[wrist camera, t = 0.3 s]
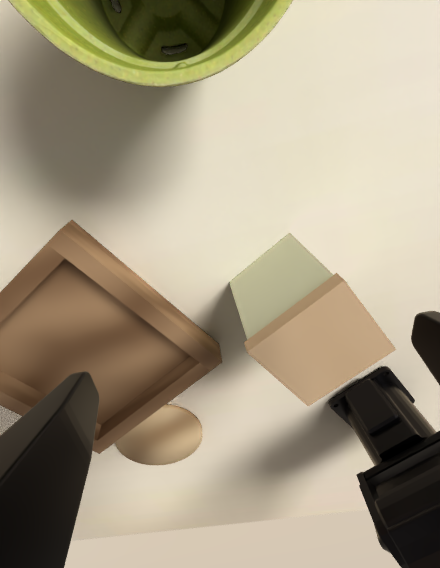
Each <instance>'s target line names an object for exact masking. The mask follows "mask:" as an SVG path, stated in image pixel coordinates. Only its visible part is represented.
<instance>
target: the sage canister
mask: <svg viewBox="0 0 440 568" xmlns="http://www.w3.org/2000/svg"><path fill="white" fill-rule="evenodd" d="M229 283H230V286H231V289H232V293H233V296H234V299H235V302H236V305H237V309H238V312H239V315H240V318H241V321H242V325H243V328H244V331H245V334H246V338H247V341H245V342H244V344H245V347H246V351H247V353H248V354H249V355H250V356H252V357H253V358H254V359H255V360H256V361H257V362H258V363H260V364H261V365H262V366H263V367H264V368H265V369H266V370H267V371H269V372H270V373H271V374H272V375H273V376H274V377H275V378H277V379H278V380H279V381H280V382H281V383H282V384H283V385H284V386H286V387H287V388H288V389H289V390H290V391H291V392H292V393H294V394H295V395H296V396H297V397H298V398H299V399H300V400H301V401H303V402H304V403H305V404H306V405H307V406H309V405H311V404H313V403H314V402H316V401H317V400H319V399H320V398H322V397H323V396H325V395H326V394H328V393H330V392H331V391H333V390H334V389H336V388H337V387H339V386H340V385H342V384H343V383H345V382H347V381H348V380H350V379H351V378H353V377H354V376H356V375H357V374H359V373H360V372H362V371H364V370H365V369H367V368H368V367H370V366H371V365H373V364H374V363H376V362H377V361H379V360H381V359H382V358H384V357H385V356H387V355H388V354H390V353H391V352H393V351H394V350H396V349H395V347H394V346H393V345H392V343H391V342H390V341H389V339H388V338H387V337H386V335H385V334H384V333H383V331H382V330H381V329H380V327H379V326H378V325H377V323H376V322H375V321H374V319H373V318H372V316H371V315H370V314H369V312H368V311H367V310H366V308H365V307H364V306H363V304H362V303H361V302H360V300H359V299H358V298H357V296H356V295H355V294H354V292H353V291H352V290H351V288H350V287H349V286H348V284H347V283H346V282H345V280H344V279H343V278H341V277H340V276H339V275H338V274H337V273H336V274H335V275H333V274H332V273H331V272H330V271H329V270H328V269H327V268H326V267H325V266H324V265H323V264H322V263H321V262H320V261H319V260H317V259H316V258H315V257H314V256H313V255H312V254H311V253H310V252H309V251H308V250H307V249H306V248H305V247H304V246H303V245H302V244H301V243H300V242H299V241H298V240H297V239H296V238H295V237H294V236H293V235H292V234H291V233H289V234H287V235H286V236H285V237H284V238H283V239H281V240H280V241H279V242H278V243H277V244H275V245H274V246H273V247H272V248H270V249H269V250H268V251H267V252H266V253H264V254H263V255H262V256H261V257H259V258H258V259H257V260H256V261H255V262H253V263H252V264H251V265H250V266H248V267H247V268H246V269H245V270H244V271H242V272H241V273H240V274H239V275H237V276H236V277H235V278H234V279H233V280H231V281H230V282H229Z"/></svg>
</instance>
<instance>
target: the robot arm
mask: <svg viewBox="0 0 440 568" xmlns="http://www.w3.org/2000/svg"><path fill="white" fill-rule="evenodd" d="M411 340H412V344H413V346H414V348H415V349H416V351H417V352H418V354H419V355H420V357H421V358H422V360H423V361H424V363H425V364H426V366H427V367H428V369H429V370H430V372H431V373H432V374H433V376H434V377H435V379H436V380H437V382H438V383H439V385H440V313H439V312H436V311H428V312H422V313H419V314H417V315H416V316H415V320H414V325H413V330H412V336H411ZM414 402H415V400H414V398H413V397H412V396H411V395H410V393H409V392H408V391H407V390H406V388H405V387H404V386H403V385H402V383H401V382H400V381H399V380H398V378H397V377H396V376H395V375H394V373H393V372H392V371H391V370H390V369H389V367H386V366H385V367H382V368H380V369H379V370H377V371H376V372H374V373H373V374H371V375H369V376H368V377H366V378H365V379H363V380H362V381H360V382H358V383H357V384H355V385H354V386H352V387H351V388H349V389H347V390H346V391H344V392H343V393H341V394H340V395H338V396H337V397H335V398H333V399H332V400H331V401H330V402H329V405H330V406H331V408H332V409H333V410H334V411H335V412H336V413H337V414H338V415H339V416H340V417H341V418H342V419H344V420H345V421H346V422H347V423H348V424H349V425H350V426H351V427H352V428H353V429H354V430H355V432H356V434H357V436H358V437H359V439H360V441H361V443H362V444H363V446H364V448H365V450H366V451H367V453H368V455H369V457H370V458H371V460H372V462H373V464H374V465H375V466H374V467H372V468H370V469H369V470H367V471H365V472H360V473H359V474H357V477H358V480H359V483H360V485H359V486H360V489H361V491H362V494H363V496H364V499H365V502H366V504H367V507H368V509H369V512H370V514H371V516H372V519H373V522H374V525H375V529H376V533H377V537H378V540H379V543H380V545H381V546H382V548H383V549H384V550H386V551H388V552H390V553H391V554H392V555H393V557H394V558H395V559H396V561H397V562H398V563H399V565H400V566H401V567H402V568H440V431H438V432H436V431H435V430H434V429H433V427H432V426H431V425H430V424H429V423H428V421H427V420H426V419H425V418H424V417H423V415H422V414H421V413H420V412H419V411H418V409H417V408H416V407H415V406H414V405H413V403H414ZM98 407H99V393H98V391H97V388H96V386H95V384H94V382H93V379H92V377H91V375H90V373H89V372H87V371H83V372H77V373H73V374H71V375H69V376H68V377H67V378H66V379H65V380H63V381H62V382H61V383H60V384H59V385H58V386H57V387H55V388H54V389H53V390H52V391H51V392H50V393H49V394H48V395H46V396H45V397H44V398H43V399H42V400H41V401H40V402H38V403H37V404H36V405H35V406H34V407H33V408H32V409H30V410H29V411H28V412H27V413H26V414H25V415H24V416H22V417H21V418H20V419H19V420H18V421H17V422H16V423H14V424H13V425H12V426H11V427H10V428H9V429H8V430H6V431H5V432H4V433H3V434H2V435H1V436H0V568H64V565H65V561H66V557H67V553H68V549H69V545H70V541H71V537H72V533H73V529H74V525H75V521H76V517H77V513H78V509H79V505H80V501H81V497H82V493H83V489H84V485H85V481H86V478H87V474H88V470H89V465H90V461H91V456H92V450H93V443H94V436H95V429H96V421H97V414H98Z"/></svg>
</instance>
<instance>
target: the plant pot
mask: <svg viewBox="0 0 440 568" xmlns="http://www.w3.org/2000/svg"><path fill="white" fill-rule="evenodd" d="M8 1H9V2H10V3H11V4H12V5H13V7H14V8H15V9H16V10H17V11H18V12H19V13H20V14H21V15H22V16H23V17H24V18H25V19H26V20H27V21H28V22H29V23H30V24H31V25H32V26H33V27H34V28H35V29H36V30H37V31H38V32H39V33H40V34H42V35H43V36H44V37H45V38H46V39H47V40H49V41H50V42H51V43H52V44H53V45H55V46H56V47H57V48H58V49H60V50H61V51H63V52H64V53H65V54H67V55H68V56H70V57H71V58H73V59H75V60H76V61H78V62H79V63H81V64H83V65H85V66H87V67H88V68H90V69H92V70H94V71H96V72H98V73H101V74H103V75H106V76H108V77H111V78H113V79H117V80H120V81H123V82H127V83H131V84H136V85H143V86H153V87H166V86H178V85H184V84H189V83H193V82H196V81H200V80H203V79H205V78H208V77H211V76H213V75H215V74H217V73H219V72H221V71H223V70H225V69H226V68H228V67H230V66H231V65H233V64H234V63H236V62H238V61H239V60H240V59H242V58H243V57H244V56H245V55H247V54H248V53H249V52H250V51H252V50H253V49H254V48H255V47H256V46H257V45H258V44H259V43H260V42H261V41H262V40H263V39H264V38H265V37H266V36H267V35H268V34H269V33H270V32H271V30H272V29H273V28H274V27H275V26H276V24H277V23H278V22H279V20H280V19H281V18H282V16H283V15H284V13H285V12H286V10H287V9H288V7H289V6H290V4H291V3H292V1H293V0H119V3H120V5H121V12H120V13H117V12H116V11H115V9H114V8H113V6H112V4H111V1H110V0H8ZM184 43H186V44H187V45H188V46H187V48H186V51H183V52H181V53H176V54H172V55H169V54H167V55H166V54H165V53H163V52H162V50H161V47H168V46H176V45H181V44H184Z"/></svg>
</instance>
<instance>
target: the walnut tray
mask: <svg viewBox="0 0 440 568" xmlns="http://www.w3.org/2000/svg"><path fill="white" fill-rule="evenodd" d="M220 363H222V358H221V352H220V346H219V344H218V343H217V342H216V341H215V340H213V339H212V338H211V337H210V336H209V335H207V334H206V333H205V332H204V331H203V330H202V329H200V328H199V327H198V326H197V325H196V324H195V323H193V322H192V321H191V320H190V319H189V318H187V317H186V316H185V315H184V314H183V313H182V312H180V311H179V310H178V309H177V308H176V307H174V306H173V305H172V304H171V303H170V302H169V301H167V300H166V299H165V298H164V297H163V296H161V295H160V294H159V293H158V292H157V291H156V290H154V289H153V288H152V287H151V286H150V285H148V284H147V283H146V282H145V281H144V280H143V279H141V278H140V277H139V276H138V275H137V274H136V273H134V272H133V271H132V270H131V269H130V268H128V267H127V266H126V265H125V264H124V263H123V262H121V261H120V260H119V259H118V258H117V257H115V256H114V255H113V254H112V253H111V252H110V251H108V250H107V249H106V248H105V247H104V246H102V245H101V244H100V243H99V242H98V241H97V240H95V239H94V238H93V237H92V236H91V235H89V234H88V233H87V232H86V231H85V230H84V229H82V228H81V227H80V226H79V225H78V224H77V223H75V222H74V221H73V220H71V221H70V222H69V223H68V224H66V225H65V226H64V227H63V228H62V229H60V230H59V231H58V232H57V234H56V235H55V236H54V237H53V238H52V239H51V240H50V241H49V242H48V243H47V244H46V245H45V246H44V247H43V248H42V249H41V250H40V251H39V252H38V253H37V255H36V256H35V257H34V258H33V259H32V260H31V261H30V262H29V263H28V264H27V265H26V266H25V267H24V268H23V269H22V270H21V271H20V272H19V273H18V274H17V275H16V277H15V278H14V279H13V280H12V281H11V282H10V283H9V284H8V285H7V286H6V287H5V288H4V289H3V290H2V291H1V292H0V405H1V406H3V407H5V408H7V409H9V410H11V411H13V412H15V413H17V414H19V415H21V416H24V415H25V414H26V413H27V412H28V411H29V410H30V409H32V408H33V407H34V406H35V405H36V404H37V403H38V402H40V401H41V400H42V399H43V398H44V397H45V396H46V395H48V394H49V393H50V392H51V391H52V390H53V389H54V388H55V387H57V386H58V385H59V384H60V383H61V382H62V381H63V380H65V379H66V378H67V377H68V376H69V375H71V374H73V373H77V372H83V371H87V372H89V373H90V375H91V377H92V379H93V382H94V384H95V386H96V388H97V391H98V393H99V407H98V414H97V421H96V429H95V436H94V443H93V451H95V452H97V453H99V454H100V453H101V452H102V451H104V450H105V449H106V448H108V447H109V446H111V445H112V444H113V443H115V442H116V441H117V440H119V439H120V438H121V437H123V436H124V435H125V434H127V433H128V432H129V431H131V430H132V429H133V428H135V427H136V426H137V425H139V424H140V423H141V422H143V421H144V420H145V419H147V418H148V417H149V416H151V415H152V414H153V413H155V412H156V411H157V410H159V409H160V408H161V407H163V406H164V405H165V404H167V403H168V402H170V401H171V400H172V399H174V398H175V397H176V396H178V395H179V394H180V393H182V392H183V391H184V390H186V389H187V388H188V387H190V386H191V385H192V384H194V383H195V382H196V381H198V380H199V379H200V378H202V377H203V376H204V375H206V374H207V373H208V372H210V371H211V370H212V369H214V368H215V367H216V366H218V365H219V364H220Z"/></svg>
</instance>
